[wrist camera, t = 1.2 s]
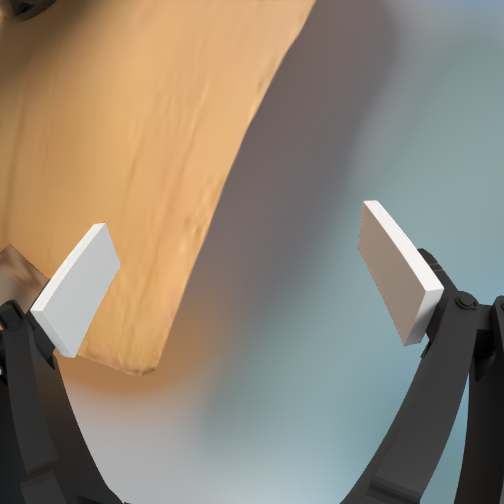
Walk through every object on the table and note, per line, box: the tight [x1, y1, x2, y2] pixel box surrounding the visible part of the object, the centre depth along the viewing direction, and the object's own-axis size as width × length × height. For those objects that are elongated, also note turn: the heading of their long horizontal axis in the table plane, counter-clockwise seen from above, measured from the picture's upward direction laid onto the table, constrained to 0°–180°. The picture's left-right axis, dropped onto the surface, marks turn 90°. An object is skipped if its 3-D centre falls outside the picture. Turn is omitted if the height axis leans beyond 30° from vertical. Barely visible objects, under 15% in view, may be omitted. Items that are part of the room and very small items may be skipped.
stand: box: [0, 244, 49, 314], centre depth 37 cm, size 15×10×8 cm
